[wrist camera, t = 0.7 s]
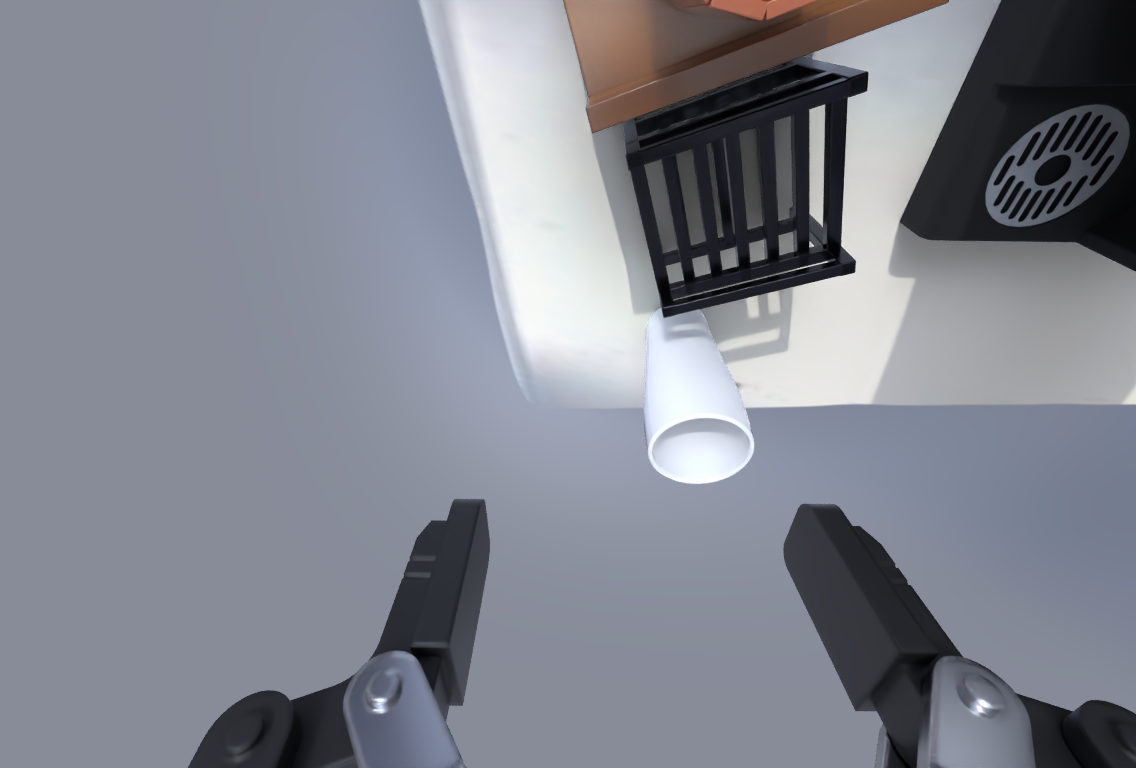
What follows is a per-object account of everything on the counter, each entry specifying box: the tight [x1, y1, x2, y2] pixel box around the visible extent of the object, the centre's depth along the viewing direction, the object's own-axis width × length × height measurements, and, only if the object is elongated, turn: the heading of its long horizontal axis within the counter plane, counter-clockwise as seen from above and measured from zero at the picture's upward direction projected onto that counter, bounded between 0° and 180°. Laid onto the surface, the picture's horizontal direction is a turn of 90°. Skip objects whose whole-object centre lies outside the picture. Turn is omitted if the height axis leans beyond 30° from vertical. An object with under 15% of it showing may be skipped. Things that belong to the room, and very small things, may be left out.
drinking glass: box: [644, 308, 755, 484], centre depth 34 cm, size 7×7×15 cm
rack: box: [623, 57, 868, 318], centre depth 27 cm, size 10×11×10 cm
